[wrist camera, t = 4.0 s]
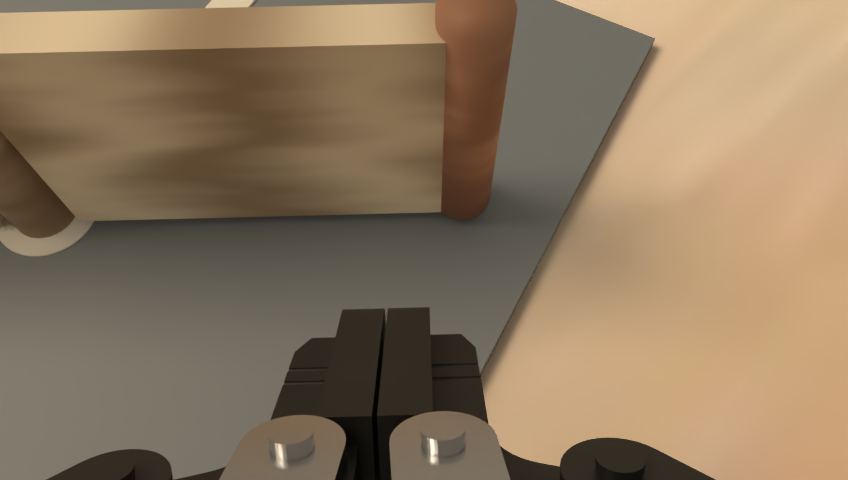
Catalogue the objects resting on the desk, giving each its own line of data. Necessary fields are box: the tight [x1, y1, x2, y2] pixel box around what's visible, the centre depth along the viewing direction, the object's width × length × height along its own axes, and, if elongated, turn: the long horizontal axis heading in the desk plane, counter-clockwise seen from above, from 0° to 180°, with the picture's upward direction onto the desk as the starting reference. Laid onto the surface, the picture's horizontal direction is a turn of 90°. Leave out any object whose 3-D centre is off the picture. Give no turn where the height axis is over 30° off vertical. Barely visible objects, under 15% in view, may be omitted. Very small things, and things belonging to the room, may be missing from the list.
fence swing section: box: [0, 0, 517, 221], centre depth 20 cm, size 13×2×8 cm, turn 92°
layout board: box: [0, 0, 655, 480], centre depth 25 cm, size 26×27×1 cm
